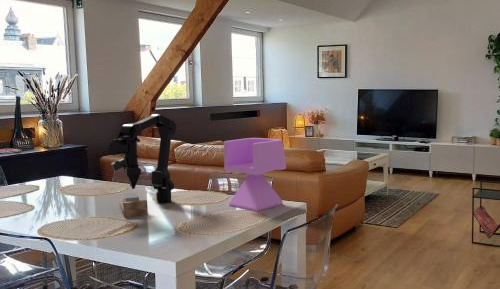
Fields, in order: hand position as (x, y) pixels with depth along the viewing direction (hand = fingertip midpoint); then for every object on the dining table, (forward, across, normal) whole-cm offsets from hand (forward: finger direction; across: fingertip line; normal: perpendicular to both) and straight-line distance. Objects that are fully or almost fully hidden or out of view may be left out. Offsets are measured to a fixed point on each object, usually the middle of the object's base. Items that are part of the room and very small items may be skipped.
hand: (132, 187), depth 221 cm
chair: (+11, +11, +54) cm, 56 cm away
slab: (+7, -10, 0) cm, 12 cm away
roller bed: (+11, -4, 0) cm, 11 cm away
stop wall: (+11, +7, 0) cm, 13 cm away
